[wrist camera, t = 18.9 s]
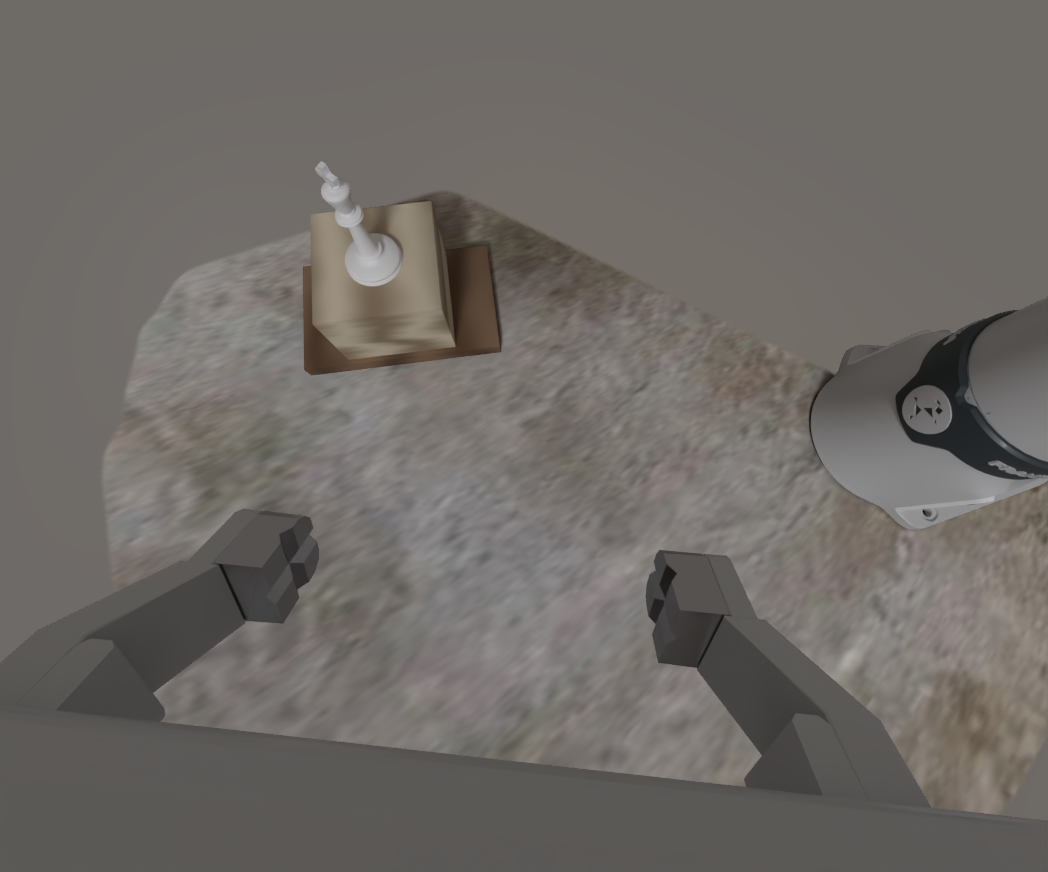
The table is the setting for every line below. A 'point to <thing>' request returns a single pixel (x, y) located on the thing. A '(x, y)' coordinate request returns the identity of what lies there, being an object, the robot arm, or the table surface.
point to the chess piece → (360, 236)
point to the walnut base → (464, 314)
